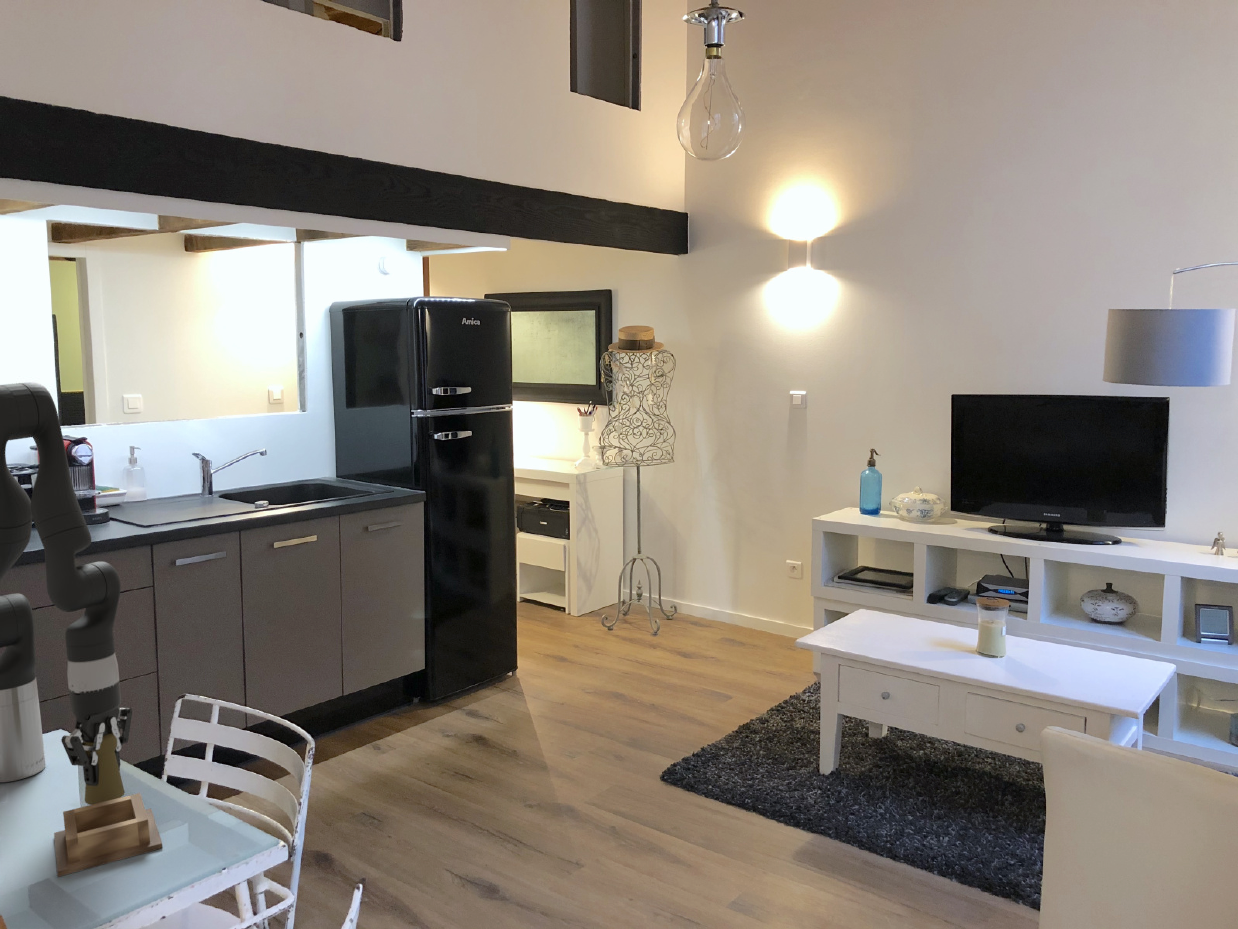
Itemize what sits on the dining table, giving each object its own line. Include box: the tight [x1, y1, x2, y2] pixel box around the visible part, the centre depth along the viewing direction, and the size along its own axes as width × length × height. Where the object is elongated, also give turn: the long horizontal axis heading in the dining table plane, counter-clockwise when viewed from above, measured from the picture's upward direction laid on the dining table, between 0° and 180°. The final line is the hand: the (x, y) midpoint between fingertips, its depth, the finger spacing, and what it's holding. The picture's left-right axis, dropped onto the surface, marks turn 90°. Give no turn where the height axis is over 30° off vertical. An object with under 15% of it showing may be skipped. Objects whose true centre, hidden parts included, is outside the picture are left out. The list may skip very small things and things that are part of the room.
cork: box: [84, 733, 126, 805], centre depth 162 cm, size 6×6×11 cm
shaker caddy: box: [53, 792, 163, 877], centre depth 150 cm, size 14×14×4 cm
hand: (103, 778), depth 163 cm, fingers closed on cork, 4 cm apart
